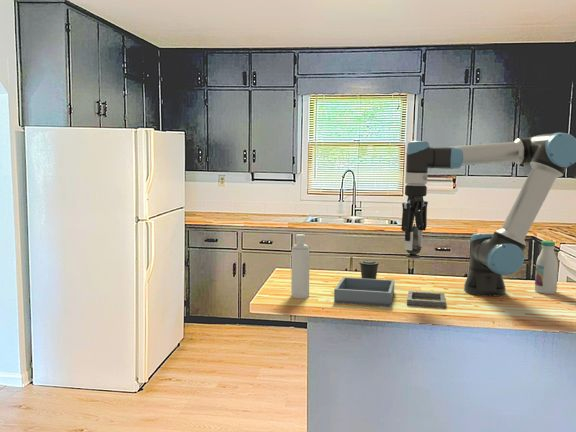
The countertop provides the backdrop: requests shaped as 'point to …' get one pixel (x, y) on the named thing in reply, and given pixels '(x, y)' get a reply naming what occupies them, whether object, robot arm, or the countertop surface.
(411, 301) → the collar
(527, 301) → the countertop surface
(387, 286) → the bin
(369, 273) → the coffee cup
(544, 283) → the milk bottle
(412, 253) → the dark grey tall piece
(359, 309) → the countertop surface
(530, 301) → the countertop surface
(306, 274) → the white plastic bottle
